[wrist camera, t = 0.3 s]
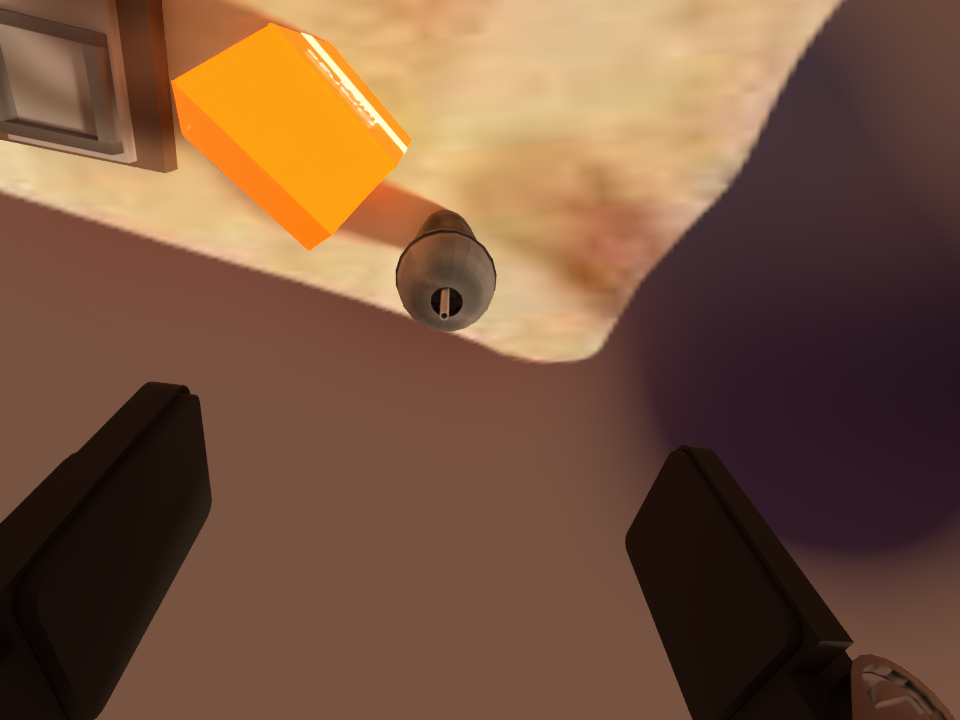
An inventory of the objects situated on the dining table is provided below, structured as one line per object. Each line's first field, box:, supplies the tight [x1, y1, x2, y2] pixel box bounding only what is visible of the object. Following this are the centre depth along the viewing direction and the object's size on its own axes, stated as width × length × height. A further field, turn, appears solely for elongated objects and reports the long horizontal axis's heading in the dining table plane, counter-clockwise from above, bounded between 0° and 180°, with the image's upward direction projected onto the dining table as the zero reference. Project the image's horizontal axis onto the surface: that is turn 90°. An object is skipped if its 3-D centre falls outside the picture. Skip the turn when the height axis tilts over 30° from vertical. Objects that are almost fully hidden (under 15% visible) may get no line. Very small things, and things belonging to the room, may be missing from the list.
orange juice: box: [171, 23, 412, 251], centre depth 30 cm, size 8×9×20 cm
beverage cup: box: [396, 211, 496, 331], centre depth 35 cm, size 7×7×20 cm
